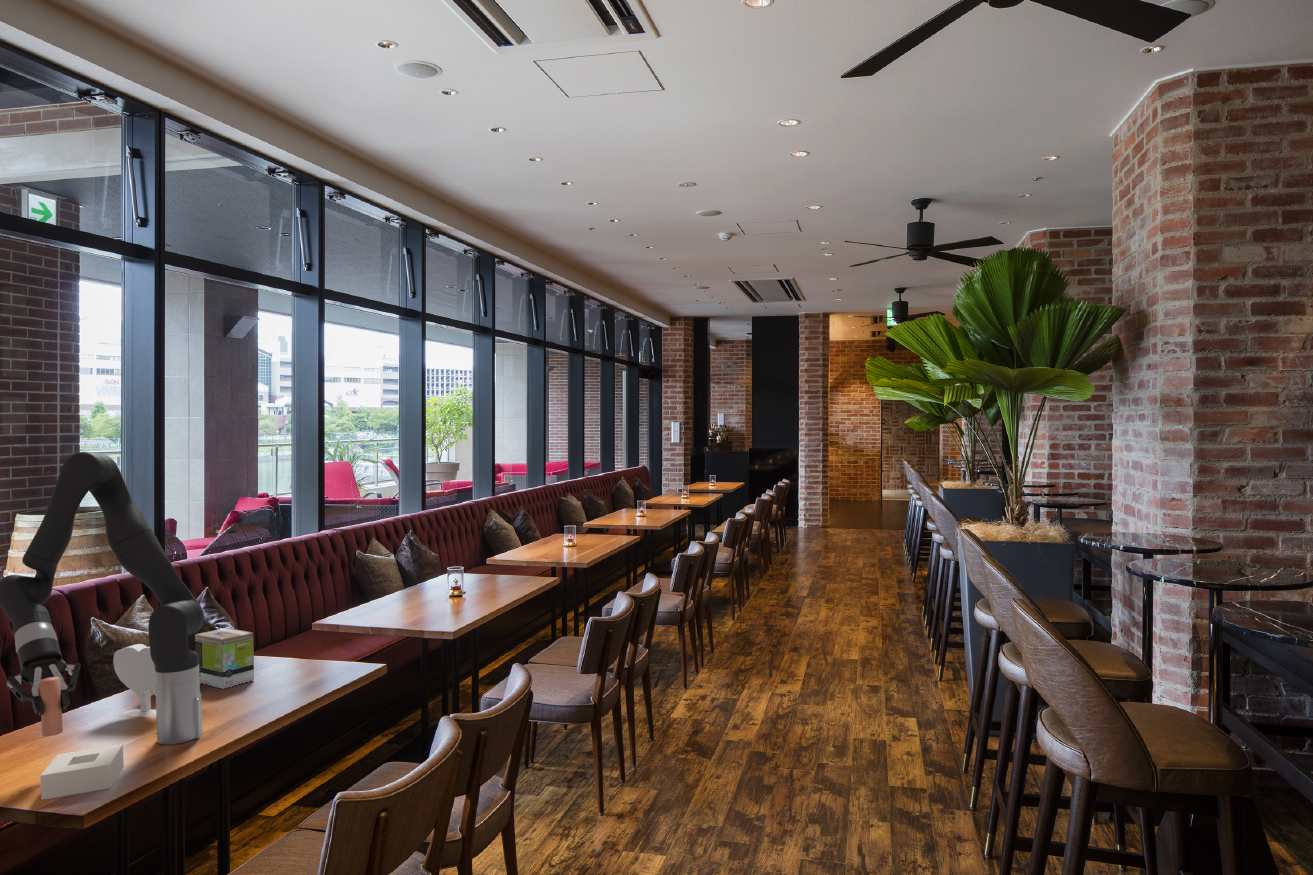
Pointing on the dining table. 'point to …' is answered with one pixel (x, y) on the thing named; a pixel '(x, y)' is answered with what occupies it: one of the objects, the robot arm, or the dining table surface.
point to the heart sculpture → (137, 676)
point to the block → (82, 771)
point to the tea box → (225, 657)
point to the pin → (51, 706)
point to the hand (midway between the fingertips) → (53, 710)
